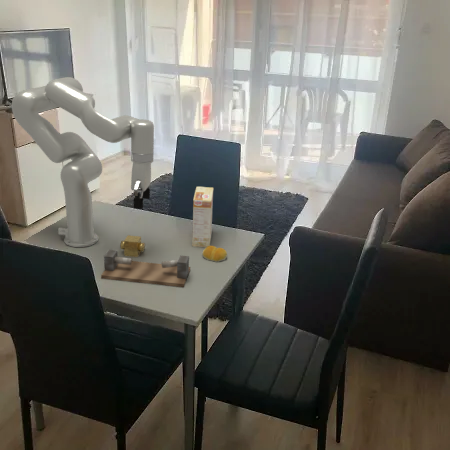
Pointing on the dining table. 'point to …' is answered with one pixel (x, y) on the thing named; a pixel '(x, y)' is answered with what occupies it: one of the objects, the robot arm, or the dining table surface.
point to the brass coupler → (132, 246)
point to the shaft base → (146, 270)
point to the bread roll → (214, 253)
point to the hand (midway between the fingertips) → (141, 203)
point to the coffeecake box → (202, 216)
